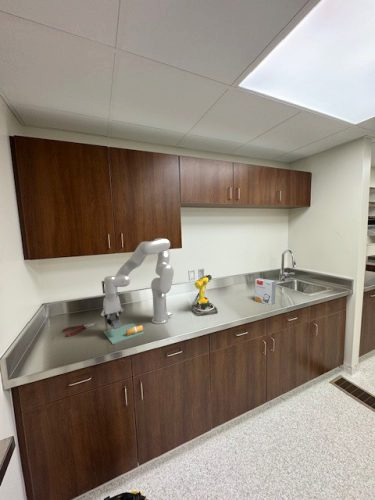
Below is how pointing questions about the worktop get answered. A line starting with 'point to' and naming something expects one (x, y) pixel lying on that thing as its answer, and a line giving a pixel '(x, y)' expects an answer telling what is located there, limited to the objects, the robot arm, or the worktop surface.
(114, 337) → the cutting mat
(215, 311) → the yellow upright jointed figure
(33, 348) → the worktop surface
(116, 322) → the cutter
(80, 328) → the pliers
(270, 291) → the hard drive box
